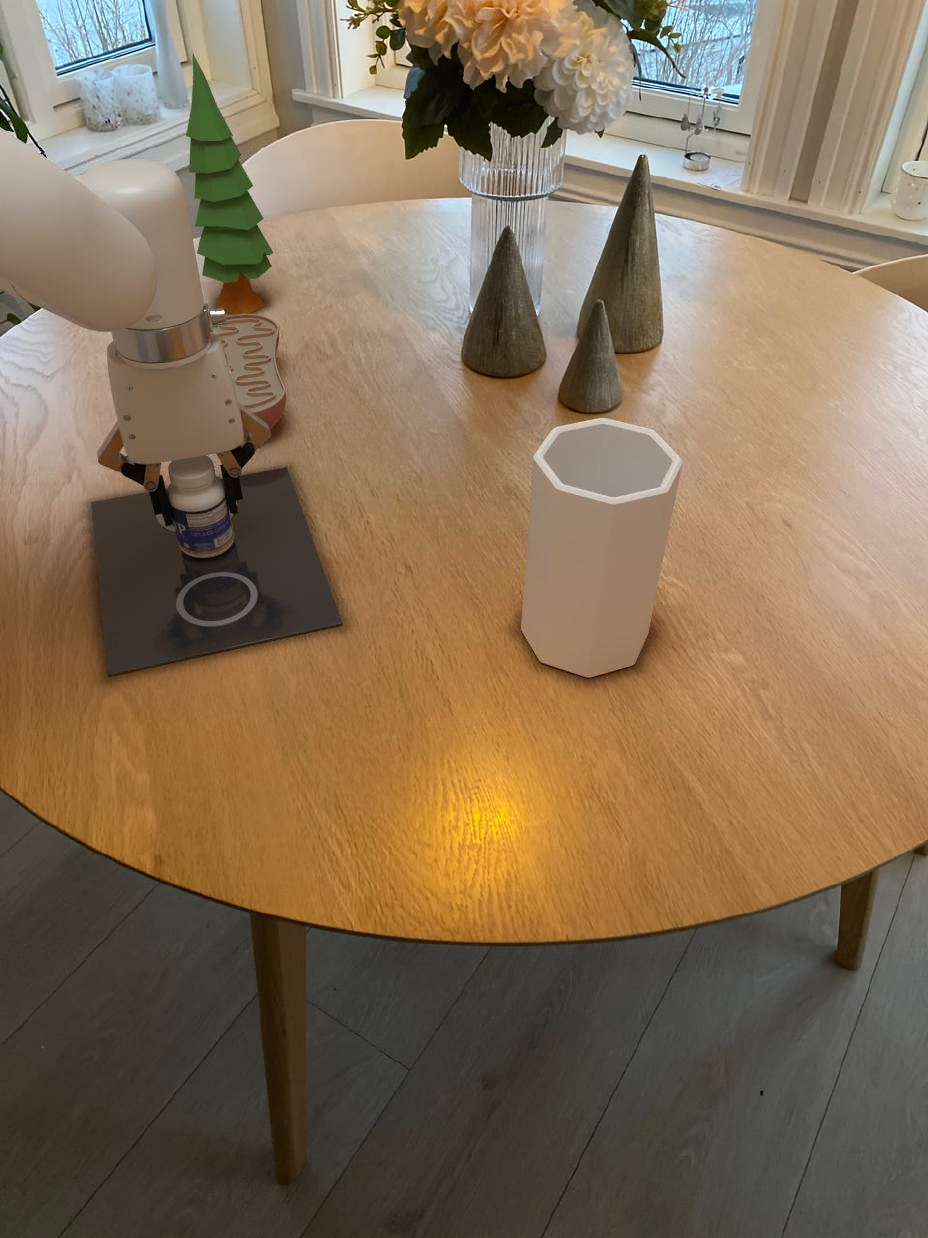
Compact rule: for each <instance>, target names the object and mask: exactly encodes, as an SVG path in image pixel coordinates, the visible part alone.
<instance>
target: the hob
mask: <svg viewBox="0 0 928 1238" xmlns="http://www.w3.org/2000/svg"><path fill="white" fill-rule="evenodd" d="M220 479H221V480H222V481H223V478H220ZM239 479H240V485H241V490H242V496H243V499H242V500H237V501H236V503H237V509H238V514H233V513H230V517H231V522H232V526H233V531H234V541H233V544H232V545H231V547H230V548H229V549H228V550H226V551H225V552H223V553H222V554H220V555H217V556H214V557H209V558H197V557H192V556H189V555H187V554H186V553H184V552H183V551H182V550H181V548H180V546H179V543H178V539H177V535H176V531H175V527H174V523H173V524H171V526H165V522H164V518H163V514H158V515H155V513H154V509H153V506H152V502H151V498H150V494H149V492H148V491H146V492H145V491H144V492H139V493H135V494H127V495H123V496H117V497H111V498H106V499H100V500H95V501H91V502H90V505H91V506H90V507H91V517H92V518H91V519H92V527H93V537H94V549H95V557H96V568H97V578H98V589H99V590H98V591H99V600H100V601H99V602H100V610H101V611H100V612H101V621H102V631H103V640H104V641H103V643H104V652H105V660H106V661H105V662H106V671H107V677H114V676H118V675H123V674H128V673H132V672H137V671H140V670H141V671H142V670H146V669H149V668H155V667H159V666H163V665H168V664H173V663H178V662H181V661H186V660H191V659H195V658H199V657H205V656H209V655H213V654H218V653H222V652H227V651H232V650H235V649H241V648H245V647H250V646H254V645H258V644H263V643H268V642H272V641H277V640H282V639H285V638H291V637H294V636H295V637H296V636H299V635H304V634H309V633H312V632H317V631H321V630H322V631H323V630H327V629H331V628H335V627H339V626H343V621H342V619H341V615H340V612H339V609H338V607H337V604H336V602H335V598H334V596H333V593H332V590H331V588H330V584H329V581H328V579H327V576H326V573H325V570H324V568H323V564H322V562H321V559H320V555H319V553H318V550H317V548H316V545H315V542H314V539H313V536H312V534H311V531H310V527H309V525H308V523H307V520H306V517H305V513H304V510H303V508H302V506H301V502H300V500H299V497H298V494H297V491H296V489H295V486H294V483H293V480H292V478H291V474H290V471H289V469H288V467H287V466H285V467H279V468H273V469H268V470H262V471H257V472H251V473H246V474H241V475H240V476H239ZM167 490H168V487H167V488H166V492H167ZM229 512H230V510H229Z"/></svg>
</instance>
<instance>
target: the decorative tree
mask: <svg viewBox="0 0 928 1238" xmlns="http://www.w3.org/2000/svg"><path fill="white" fill-rule="evenodd" d="M203 71H204V70H202V67H201V65H200V64H199V62H198V60H197V58H196V57H195V54H194V53H192V89H191V105H190V106H191V107H190V112H189V118H188V122H187V127H186V134H185V137H186V138H190V139H189V142H190V143H189V165H188V167H189V168H188V172H189V173H191V174H194V173H195V176H194V177H195V178H194V199H198V200H199V206H198V210H197V215H196V219H195V224H194V227H195V228H197V227H198V228H199V227H202V231H201V234H200V238H199V242H198V247H197V251H196V254H198V255H199V256H202V257H204V260H203V266H202V273H201V274H202V275H201V276H202V277H203V276H204V277H206V278H208V279H211V280H214V281H219V282H220V283H222V286H221V290H220V293H219V298H218V302H217V303H218V304H217V308H224V312H225V313H226V314H227V313H228V314H232V315H237V314H253V313H254V312H255V311H258V310H259V309H262V308H263V307H266V304H265V303H264V302H263V301H262V299H261V298H260V297H259V296H258V295H257V293H256V292H255V291H254V289H253V286H252V284H251V281H252V280H258V279H259V278H260V277H261V276H262V275H264V274H265V273H266V272H267V271H268V270H269V269H271V268H272V263H271V262H270V259H269V257H270V256H271V255H273V254H274V251H273V249H272V247H271V246H270V244H269V242H268V241H267V239H266V238H265V235H264V233H263V231H261V229H260V227H259V225H258V224H259V223H260V222H262V221H263V220H264V216H263V214H262V213H261V211H260V209H259V207H258V206H257V204H256V202H255V201H254V199H253V197H252V195H251V193H250V191H249V190H250V189H252V188H253V187H254V184H253V183H252V181H251V179H250V177H249V176H248V174H247V172H246V170H245V168H244V167H243V165H242V163H241V161H240V157H241V156H242V153H241V151H240V150H239V148H238V145H237V144H236V142H235V141H234V138H233V137H234V135H233V133H232V131H231V128H230V126H229V125H228V123H227V121H226V120H225V117H224V116H223V114H222V111H221V110H220V108H219V106H218V104H217V102H216V100H215V96H214V94H213V92H212V90H211V87H210V85H209V82H208V79H207V77H206V75H205V73H204V72H203ZM268 256H269V257H268Z"/></svg>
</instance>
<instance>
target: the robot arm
mask: <svg viewBox="0 0 928 1238" xmlns="http://www.w3.org/2000/svg"><path fill="white" fill-rule="evenodd" d="M190 221H191V220H190V216H189V210H188V205H187V199H186V194H185V190H184V185H183V183H182V181H181V179H180V176H179V175H178V174H177V173H176V171H175V170H174V169H172V168H171V167H170V166H168V165H166V164H164V163H163V162H159V161H157V160H152V159H144V158H122V159H115V160H108V161H106V162H102V163H99V164H97V165H94V166H92V167H90V168H88V169H86V170H85V172H83V173H82V174H76V175H71V174H70V173H68V171H66V170H64V169H63V168H61V167H60V166H59V165H58V164H56V163H55V162H53V161H52V160H50V158H49V159H48V158H47V157H46V156H44V155H43V154H42V153H40V152H38V151H37V150H36V149H34V148H33V147H31V146H30V145H29V144H27V143H25V142H24V141H22V140H20V139H19V138H17V137H16V136H15V135H13V134H11V133H10V132H9V131H7V130H5V129H4V128H2V127H1V126H0V290H1V291H2V292H4V293H7V294H9V295H10V296H13V297H15V298H17V299H20V300H22V301H23V302H26V303H28V304H30V305H33V306H35V307H37V308H41V309H43V310H45V311H47V312H49V313H51V314H54V315H55V316H58V317H60V318H62V319H63V320H66V321H68V322H70V323H71V324H74V325H76V326H78V327H80V328H83V329H84V330H85V329H86V330H89V331H94V332H98V333H99V332H100V333H111V337H112V341H111V342H110V343H109V344H108V345H107V347H106V363H107V374H108V381H109V387H110V392H111V397H112V402H113V407H114V412H115V416H116V422H115V423H114V424H113V426H112V428H111V429H110V431H109V433H108V434H107V435H106V437H105V439H104V440H103V442H102V443H101V445H100V447H99V448H98V450H97V452H96V455H97V462H98V464H99V465H101V466H103V467H105V468H107V469H110V470H112V471H114V472H118V473H120V474H122V476H124V477H125V478H127V479H129V480H131V481H133V482H135V483H137V484H138V485H140V486H142V487H143V489H144V490H145V491H146V492H149V494H150V498H151V502H152V506H153V509H154V513H155V515H158V514H163V518H164V522H165V526H171V524H173V519H172V514H171V510H170V506H169V502H168V498H167V492H166V489H167V488H166V484H165V480H164V479H165V478H164V476H163V474H161V468H162V463H167V462H171V461H174V460H180V459H186V458H192V457H198V456H204V455H206V456H209V455H214V454H215V455H216V456H217V459H219V461H220V462H221V464H219V468H220V472H221V479H223V483H224V486H225V490H226V495H227V501H228V506H229V510H230V513H233V514H238V509H237V503H236V501H237V500H242V499H243V496H242V490H241V485H240V479H239V476H240V475H242V474H243V473H242V472H243V468H244V467H245V466H246V464H248V463H249V461H250V460H251V459H252V458H253V456H254V455H256V451H257V450H258V449H260V448H261V447H262V446H263V445H264V444H265V443H266V442H267V441H268V440H269V439H270V438H271V436H272V431H271V429H269V426H268V424H267V423H265V422H264V421H263V420H261V419H260V418H259V417H257V416H256V415H255V414H253V413H252V412H251V411H249V410H248V409H247V408H245V407H244V406H243V405H241V404H240V403H239V402H238V400H237V395H236V390H235V386H234V382H233V378H232V374H231V370H230V366H229V363H228V360H227V356H226V353H225V350H224V347H223V344H222V342H221V339H220V337H219V335H218V333H217V332H216V331H215V330H213V328H215V327H218V325H224V324H226V317H225V316H226V312H224V308H218V307H217V308H215V307H214V306H211V307H210V306H209V304H208V303H205V300H204V293H203V288H202V282H201V275H200V271H199V265H198V260H197V255H196V254H197V253H196V248H195V244H194V237H193V232H192V226H191V222H190ZM243 427H244V428H245V429H246V430H248V431H249V432H248V433H247V435H246V436H245V437H244V434H243ZM122 449H124V452H125V454H126V455H124V454H123V453H122V452H121V451H122Z"/></svg>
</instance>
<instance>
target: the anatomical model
mask: <svg viewBox="0 0 928 1238" xmlns="http://www.w3.org/2000/svg"><path fill="white" fill-rule="evenodd" d="M225 317H226V324H224V325H218V327H215V328H213V330H215V331H216V332H217V333H218V335H219V337H220V339H221V342H222V344H223V347H224V350H225V353H226V356H227V360H228V363H229V366H230V370H231V374H232V378H233V382H234V386H235V390H236V395H237V400H238V402H239V403H240V404H241V405H243V406H244V407H245V408H247V409H248V410H249V411H251V412H252V413H253V414H255V415H256V416H257V417H259V418H260V419H261V420H263V421H264V422H265V423H267V424H268V426H269V429H270V430H271V429H272V428H273V427H274V426H275V425H277V423H278V422H279V420H280V419H281V416H282V415H283V412H284V410H285V406H286V400H287V391H286V387H285V384H284V382H283V380H282V377H281V374H280V372H279V369H278V365H277V353H278V348H279V343H280V327H279V325H278V323H277V322H276V321H274V320H273V319H272V318H270V317H267V316H265V315H260V314H255V313H249V314H230V315H225ZM248 432H249V431H248V430H246V429H245V428H244V427H243V434H244V437H245V436H246V435H247V433H248Z"/></svg>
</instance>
